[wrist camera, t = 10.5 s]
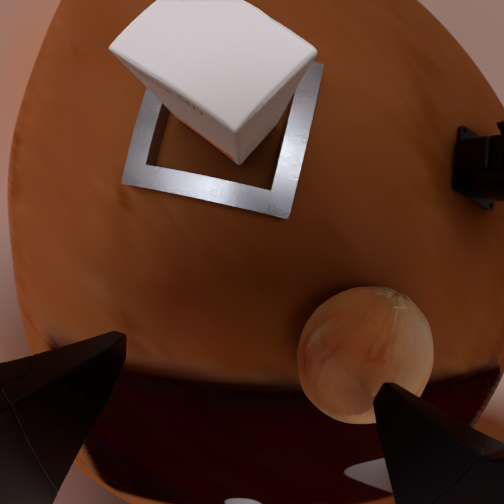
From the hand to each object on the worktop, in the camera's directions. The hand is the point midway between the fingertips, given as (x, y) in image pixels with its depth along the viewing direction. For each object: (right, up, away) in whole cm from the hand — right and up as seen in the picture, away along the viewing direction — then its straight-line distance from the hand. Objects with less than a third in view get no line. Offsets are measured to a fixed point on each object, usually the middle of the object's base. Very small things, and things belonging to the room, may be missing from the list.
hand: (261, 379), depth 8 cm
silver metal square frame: (-2, +13, +10) cm, 17 cm away
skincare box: (-2, +13, +10) cm, 17 cm away
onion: (+7, -2, +14) cm, 16 cm away
